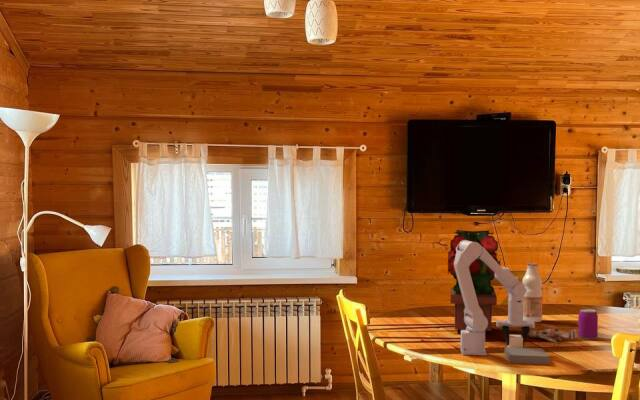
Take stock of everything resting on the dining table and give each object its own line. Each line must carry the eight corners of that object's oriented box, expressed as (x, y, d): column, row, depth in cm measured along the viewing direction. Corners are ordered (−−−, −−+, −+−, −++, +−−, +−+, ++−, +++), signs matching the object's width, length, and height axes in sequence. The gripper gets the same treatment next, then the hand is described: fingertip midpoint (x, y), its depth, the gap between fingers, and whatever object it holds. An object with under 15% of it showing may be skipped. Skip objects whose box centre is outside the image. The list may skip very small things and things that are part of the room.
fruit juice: (518, 320, 311) (518, 263, 311) (527, 317, 318) (528, 261, 317) (536, 323, 304) (536, 264, 304) (545, 320, 311) (546, 263, 310)
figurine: (570, 330, 262) (525, 327, 276) (571, 344, 261) (526, 341, 275) (577, 328, 266) (532, 325, 280) (578, 342, 266) (533, 339, 280)
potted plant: (499, 337, 276) (500, 233, 275) (447, 335, 281) (448, 232, 279) (496, 326, 298) (497, 229, 297) (447, 324, 302) (448, 229, 301)
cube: (509, 350, 252) (509, 337, 252) (507, 346, 257) (507, 334, 257) (522, 350, 251) (522, 337, 251) (520, 347, 256) (520, 335, 256)
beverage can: (586, 340, 271) (586, 312, 271) (574, 336, 279) (574, 308, 279) (601, 339, 274) (601, 311, 273) (589, 335, 281) (589, 308, 281)
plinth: (509, 363, 237) (509, 355, 237) (504, 354, 249) (504, 346, 248) (549, 364, 235) (549, 356, 235) (542, 355, 247) (542, 348, 247)
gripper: (532, 309, 257) (532, 343, 257) (495, 308, 258) (494, 341, 259) (536, 313, 250) (535, 347, 250) (498, 311, 251) (497, 346, 252)
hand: (515, 345), depth 254 cm, fingers closed on cube, 5 cm apart
